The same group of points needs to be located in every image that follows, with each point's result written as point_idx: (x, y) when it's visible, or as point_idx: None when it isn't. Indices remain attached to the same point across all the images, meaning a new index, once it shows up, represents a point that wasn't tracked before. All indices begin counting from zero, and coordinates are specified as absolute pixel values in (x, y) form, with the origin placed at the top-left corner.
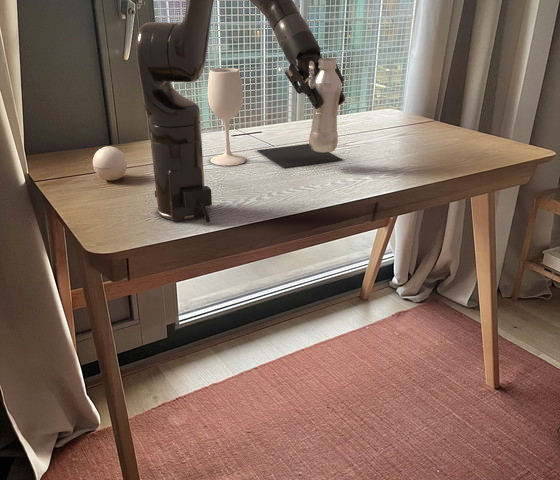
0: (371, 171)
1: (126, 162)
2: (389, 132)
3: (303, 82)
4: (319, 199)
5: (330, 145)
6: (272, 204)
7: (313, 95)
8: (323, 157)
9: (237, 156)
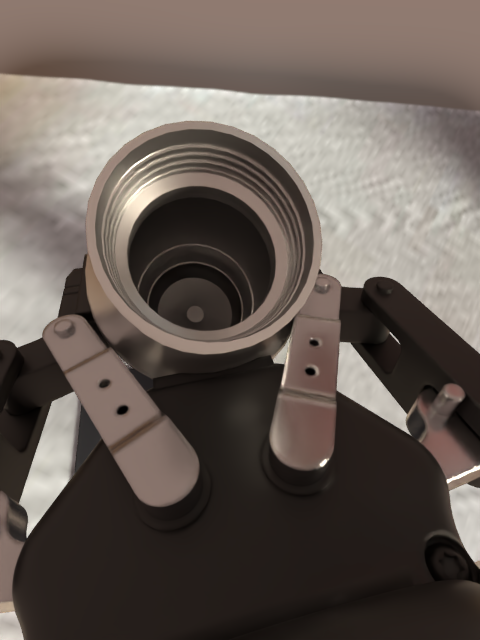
0: (75, 236)
1: None
2: None
3: (391, 298)
4: (321, 139)
5: (198, 264)
6: (421, 170)
7: None
8: None
9: None
